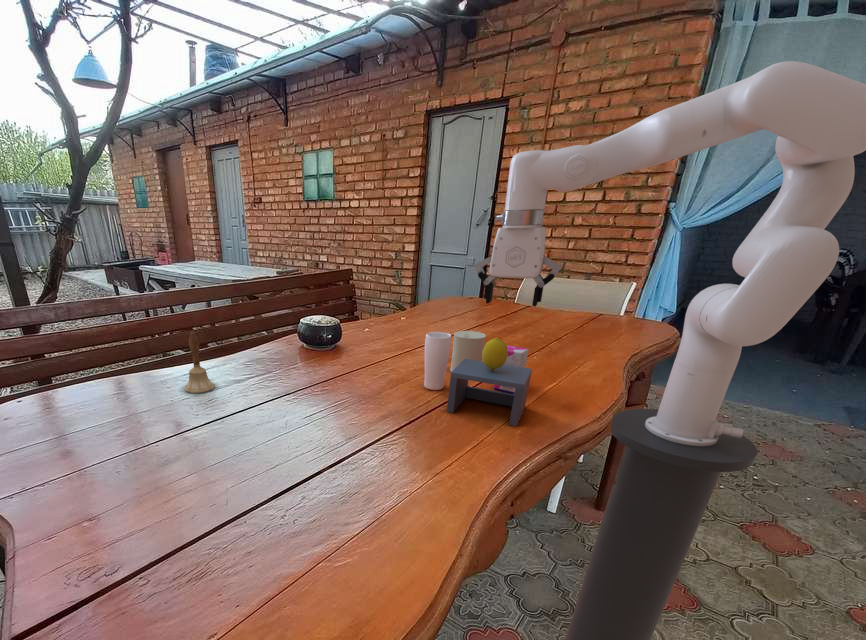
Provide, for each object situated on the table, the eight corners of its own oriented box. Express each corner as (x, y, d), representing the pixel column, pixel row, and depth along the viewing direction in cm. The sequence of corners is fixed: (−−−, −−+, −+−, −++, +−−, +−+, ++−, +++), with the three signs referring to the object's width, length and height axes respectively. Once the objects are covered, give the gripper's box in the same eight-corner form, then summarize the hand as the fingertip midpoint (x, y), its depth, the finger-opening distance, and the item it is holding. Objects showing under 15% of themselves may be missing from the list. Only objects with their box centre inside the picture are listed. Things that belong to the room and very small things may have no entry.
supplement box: (522, 388, 117) (529, 348, 112) (514, 394, 113) (521, 353, 108) (501, 383, 120) (507, 344, 116) (493, 389, 116) (499, 349, 112)
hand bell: (218, 382, 124) (211, 328, 117) (209, 393, 116) (202, 336, 110) (190, 382, 124) (181, 328, 118) (180, 393, 116) (170, 336, 110)
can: (444, 371, 130) (448, 333, 125) (458, 364, 136) (462, 327, 132) (473, 378, 124) (478, 338, 120) (486, 370, 131) (491, 332, 126)
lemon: (501, 366, 102) (506, 334, 99) (507, 374, 97) (513, 340, 94) (477, 366, 103) (482, 334, 100) (483, 374, 98) (487, 340, 95)
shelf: (524, 407, 105) (532, 368, 101) (516, 426, 96) (524, 384, 92) (460, 395, 113) (464, 358, 109) (446, 411, 103) (450, 372, 99)
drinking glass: (416, 388, 118) (420, 335, 112) (428, 381, 123) (432, 330, 117) (439, 393, 114) (444, 339, 108) (450, 386, 119) (456, 334, 113)
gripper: (475, 221, 89) (467, 304, 96) (568, 219, 80) (552, 309, 87) (483, 221, 95) (475, 298, 101) (571, 218, 86) (556, 303, 93)
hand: (511, 303), depth 94 cm, fingers open, 9 cm apart
